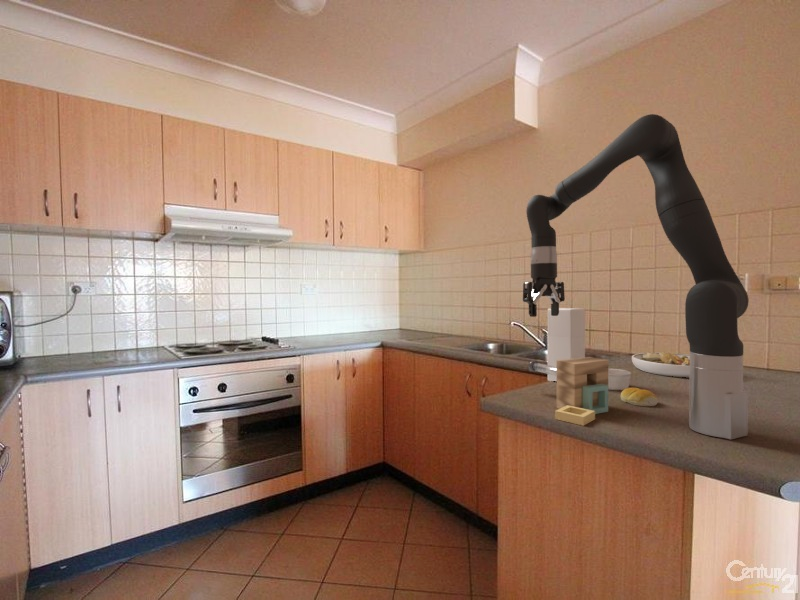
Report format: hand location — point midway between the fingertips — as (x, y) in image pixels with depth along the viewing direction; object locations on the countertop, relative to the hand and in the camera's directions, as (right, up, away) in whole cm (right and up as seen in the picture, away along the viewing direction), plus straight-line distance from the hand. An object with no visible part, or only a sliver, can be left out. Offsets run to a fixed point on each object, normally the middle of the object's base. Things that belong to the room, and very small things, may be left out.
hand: (544, 316), depth 121 cm
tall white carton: (+13, -23, +16) cm, 31 cm away
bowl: (+62, -23, +32) cm, 73 cm away
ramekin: (+24, -23, +8) cm, 35 cm away
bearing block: (+5, -24, -15) cm, 28 cm away
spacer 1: (-1, -24, -24) cm, 34 cm away
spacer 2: (+6, -24, -19) cm, 31 cm away
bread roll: (+23, -24, -10) cm, 35 cm away
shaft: (+1, -17, -6) cm, 18 cm away
